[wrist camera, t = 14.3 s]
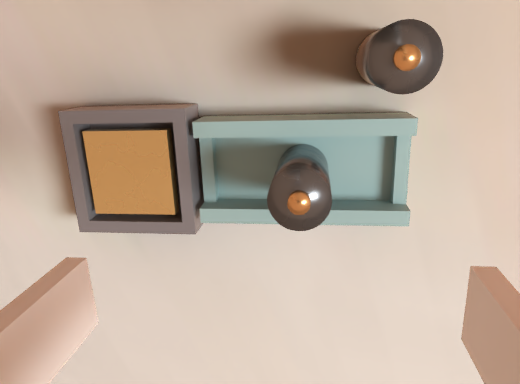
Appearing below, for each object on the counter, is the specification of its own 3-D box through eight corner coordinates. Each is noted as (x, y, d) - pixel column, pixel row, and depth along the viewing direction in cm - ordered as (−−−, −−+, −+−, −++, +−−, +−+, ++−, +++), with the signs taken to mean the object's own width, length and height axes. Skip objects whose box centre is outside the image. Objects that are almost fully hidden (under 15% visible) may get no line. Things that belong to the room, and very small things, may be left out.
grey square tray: (82, 106, 35) (58, 111, 31) (197, 103, 33) (184, 108, 30) (100, 216, 38) (79, 231, 34) (206, 218, 36) (195, 234, 33)
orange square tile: (89, 129, 33) (82, 131, 32) (170, 128, 32) (166, 130, 31) (101, 209, 35) (95, 213, 34) (179, 210, 34) (175, 214, 33)
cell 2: (356, 30, 30) (371, 20, 22) (413, 28, 30) (449, 16, 22) (354, 86, 31) (368, 95, 23) (409, 85, 31) (442, 94, 23)
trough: (204, 115, 34) (192, 122, 30) (407, 112, 31) (417, 118, 28) (211, 207, 36) (200, 222, 33) (399, 210, 34) (409, 226, 31)
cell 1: (276, 144, 33) (264, 172, 24) (328, 143, 32) (332, 171, 24) (279, 192, 34) (267, 234, 26) (328, 192, 33) (332, 234, 25)
